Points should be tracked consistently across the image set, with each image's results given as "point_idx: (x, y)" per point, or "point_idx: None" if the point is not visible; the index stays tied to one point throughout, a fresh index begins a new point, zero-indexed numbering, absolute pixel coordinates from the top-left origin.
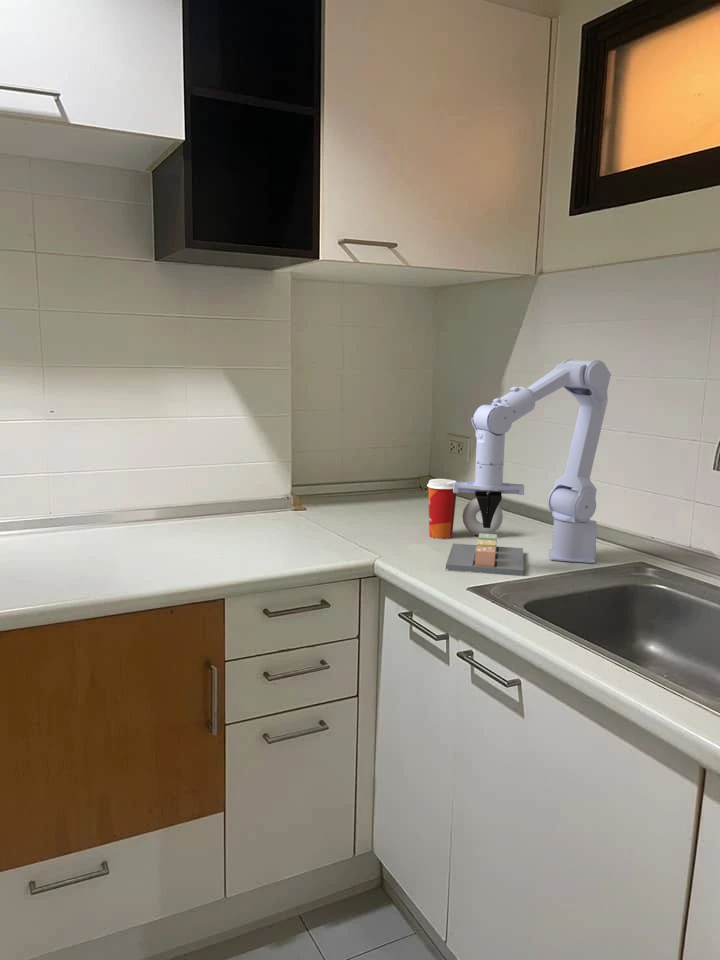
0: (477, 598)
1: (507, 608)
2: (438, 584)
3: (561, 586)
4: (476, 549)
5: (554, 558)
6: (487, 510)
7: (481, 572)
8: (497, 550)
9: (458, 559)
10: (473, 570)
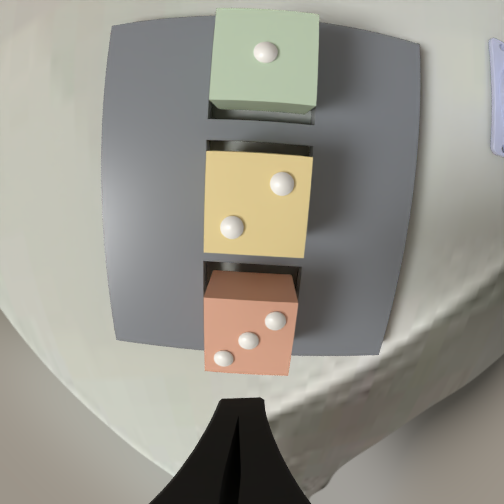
0: None
1: None
2: (138, 430)
3: (438, 393)
4: (207, 350)
5: (502, 153)
6: (241, 473)
7: None
8: None
9: (144, 273)
10: None
